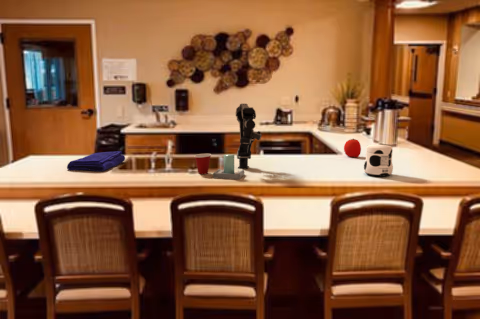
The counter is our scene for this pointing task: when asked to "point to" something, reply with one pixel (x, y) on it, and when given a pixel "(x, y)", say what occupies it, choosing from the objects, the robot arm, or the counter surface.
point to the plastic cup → (202, 162)
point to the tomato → (352, 148)
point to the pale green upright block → (229, 163)
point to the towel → (97, 161)
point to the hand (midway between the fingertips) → (247, 152)
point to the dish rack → (221, 174)
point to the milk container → (378, 160)
